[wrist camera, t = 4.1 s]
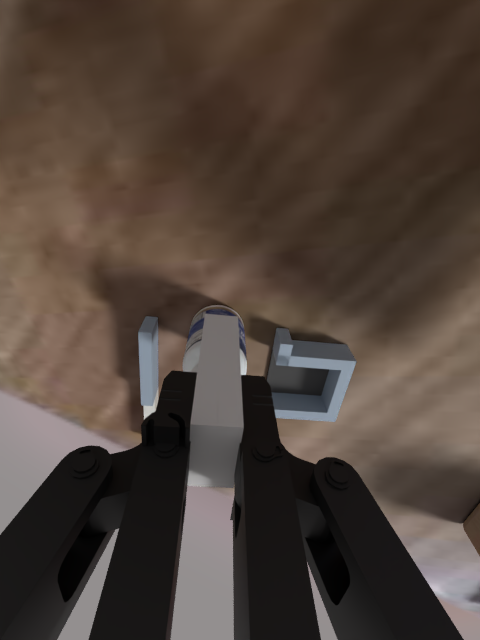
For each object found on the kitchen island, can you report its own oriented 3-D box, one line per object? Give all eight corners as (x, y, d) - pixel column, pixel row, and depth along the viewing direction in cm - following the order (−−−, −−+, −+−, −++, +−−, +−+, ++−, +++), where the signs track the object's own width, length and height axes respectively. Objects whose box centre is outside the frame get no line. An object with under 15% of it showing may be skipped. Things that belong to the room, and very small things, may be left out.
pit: (272, 347, 35) (273, 349, 35) (333, 353, 35) (333, 354, 35) (264, 389, 38) (264, 391, 37) (320, 394, 38) (321, 395, 38)
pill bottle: (246, 346, 35) (251, 414, 26) (195, 350, 35) (184, 420, 26) (241, 300, 32) (245, 359, 24) (186, 305, 32) (171, 366, 24)
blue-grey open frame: (145, 316, 33) (138, 331, 30) (350, 334, 34) (360, 350, 32) (147, 389, 37) (141, 408, 34) (328, 402, 39) (335, 421, 36)
